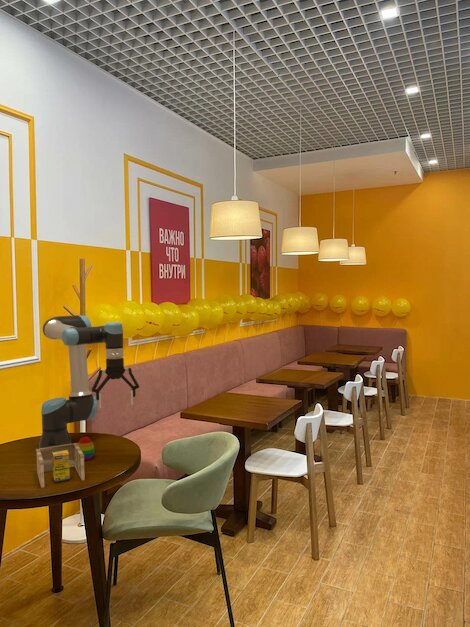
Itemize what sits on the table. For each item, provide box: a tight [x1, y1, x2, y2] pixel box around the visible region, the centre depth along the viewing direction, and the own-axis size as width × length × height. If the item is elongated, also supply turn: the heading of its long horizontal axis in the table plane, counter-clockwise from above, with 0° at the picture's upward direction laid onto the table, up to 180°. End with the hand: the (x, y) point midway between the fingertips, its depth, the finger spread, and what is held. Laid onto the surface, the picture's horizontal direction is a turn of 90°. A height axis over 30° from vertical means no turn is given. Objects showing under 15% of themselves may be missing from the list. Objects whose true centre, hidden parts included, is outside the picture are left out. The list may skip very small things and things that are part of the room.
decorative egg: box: [76, 436, 95, 461], centre depth 221 cm, size 8×8×10 cm
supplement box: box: [52, 450, 71, 484], centre depth 196 cm, size 6×6×11 cm
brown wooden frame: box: [35, 442, 86, 489], centre depth 200 cm, size 19×17×10 cm
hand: (116, 405), depth 211 cm, fingers open, 13 cm apart
